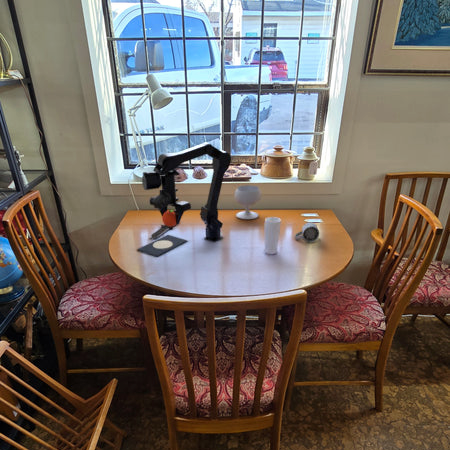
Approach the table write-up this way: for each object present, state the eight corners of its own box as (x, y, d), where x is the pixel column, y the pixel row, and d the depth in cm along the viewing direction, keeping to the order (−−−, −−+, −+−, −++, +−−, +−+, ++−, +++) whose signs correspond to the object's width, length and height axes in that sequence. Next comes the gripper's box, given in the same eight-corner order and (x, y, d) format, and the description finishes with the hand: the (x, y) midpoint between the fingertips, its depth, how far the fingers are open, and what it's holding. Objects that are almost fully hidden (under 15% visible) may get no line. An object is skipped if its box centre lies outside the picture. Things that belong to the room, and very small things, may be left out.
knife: (154, 240, 174) (154, 238, 173) (143, 238, 176) (142, 235, 176) (182, 223, 193) (181, 220, 192) (171, 221, 195) (171, 218, 195)
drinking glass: (268, 256, 159) (270, 223, 151) (260, 250, 164) (261, 218, 156) (281, 253, 161) (284, 220, 153) (272, 247, 166) (275, 215, 158)
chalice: (236, 211, 208) (236, 184, 200) (260, 212, 206) (262, 185, 198) (233, 220, 196) (233, 191, 188) (259, 221, 195) (260, 192, 187)
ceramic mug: (316, 235, 178) (318, 220, 173) (318, 242, 171) (320, 226, 167) (294, 235, 178) (295, 220, 174) (295, 242, 172) (296, 226, 167)
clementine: (172, 221, 167) (171, 206, 163) (183, 225, 163) (182, 209, 159) (159, 226, 161) (158, 210, 157) (170, 230, 158) (169, 214, 154)
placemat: (187, 241, 173) (187, 240, 172) (157, 257, 159) (157, 255, 159) (168, 235, 179) (167, 234, 178) (137, 250, 165) (137, 248, 165)
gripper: (138, 187, 152) (142, 223, 160) (172, 195, 143) (175, 233, 151) (157, 181, 160) (160, 216, 168) (190, 188, 151) (192, 224, 159)
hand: (171, 222), depth 161 cm, fingers closed on clementine, 7 cm apart
